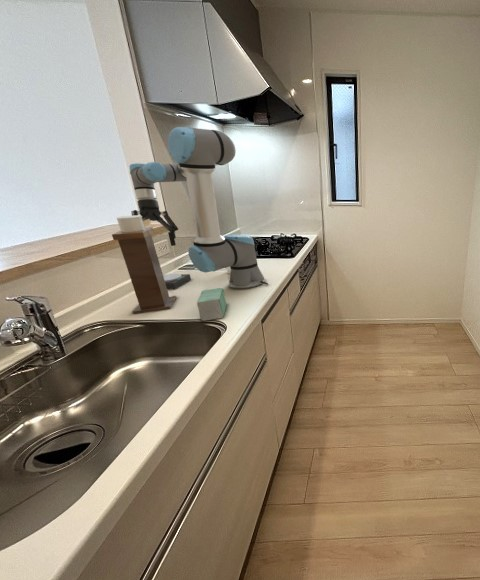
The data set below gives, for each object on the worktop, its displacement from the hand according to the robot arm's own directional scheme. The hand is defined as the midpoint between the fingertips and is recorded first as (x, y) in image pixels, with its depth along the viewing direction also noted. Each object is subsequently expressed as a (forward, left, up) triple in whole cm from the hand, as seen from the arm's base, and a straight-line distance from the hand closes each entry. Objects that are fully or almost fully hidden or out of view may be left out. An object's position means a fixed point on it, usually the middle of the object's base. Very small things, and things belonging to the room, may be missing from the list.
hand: (158, 246), depth 146 cm
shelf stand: (-14, +29, -17) cm, 37 cm away
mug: (-29, -15, -18) cm, 36 cm away
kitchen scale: (-4, +4, -17) cm, 18 cm away
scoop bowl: (-11, +23, +13) cm, 28 cm away
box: (-41, +37, -18) cm, 58 cm away
